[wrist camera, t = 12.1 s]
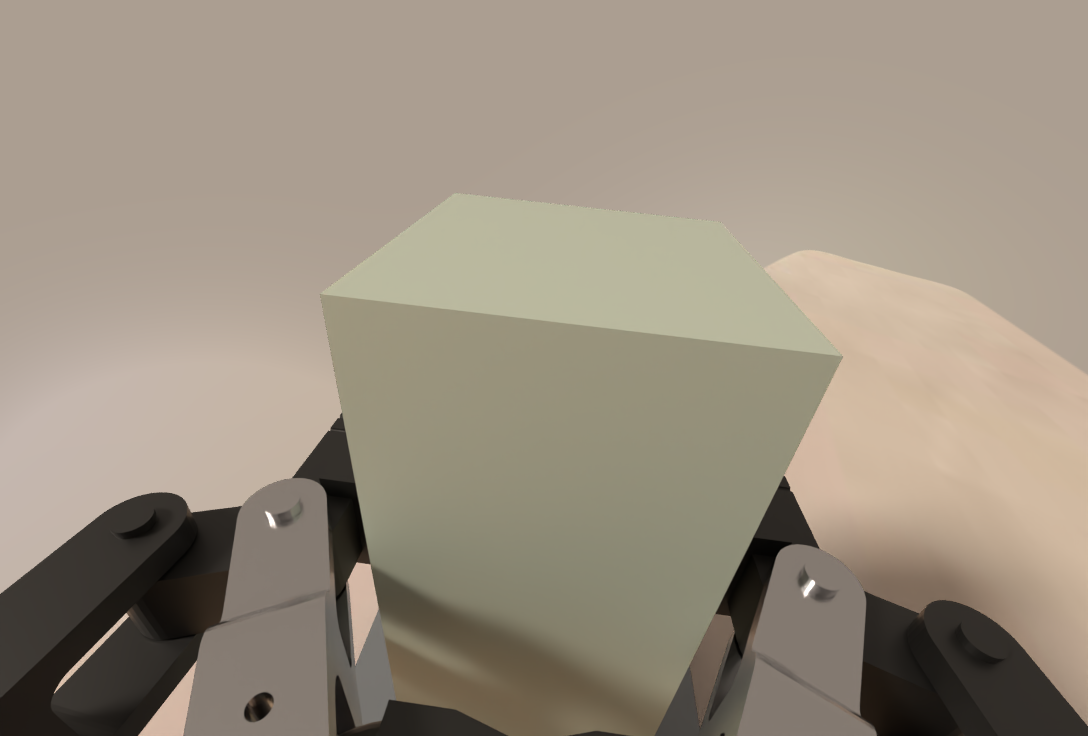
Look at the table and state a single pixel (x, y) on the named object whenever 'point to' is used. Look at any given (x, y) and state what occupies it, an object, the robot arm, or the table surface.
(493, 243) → the box
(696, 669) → the table surface
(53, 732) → the robot arm
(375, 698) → the slate mat
